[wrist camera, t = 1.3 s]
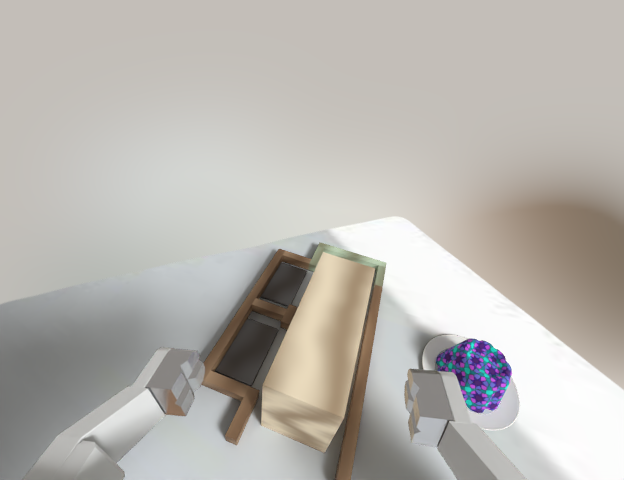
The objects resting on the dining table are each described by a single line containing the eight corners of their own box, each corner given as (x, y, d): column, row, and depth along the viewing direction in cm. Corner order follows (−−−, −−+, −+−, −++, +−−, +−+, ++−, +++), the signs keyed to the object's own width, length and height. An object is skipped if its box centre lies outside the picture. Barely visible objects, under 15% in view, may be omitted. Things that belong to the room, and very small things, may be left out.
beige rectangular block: (261, 425, 29) (262, 384, 23) (313, 299, 43) (323, 252, 37) (324, 453, 28) (343, 418, 22) (357, 314, 42) (375, 268, 35)
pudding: (436, 322, 43) (451, 301, 39) (521, 375, 38) (547, 355, 34) (405, 383, 35) (421, 363, 32) (507, 459, 30) (539, 445, 27)
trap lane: (174, 416, 29) (171, 411, 28) (288, 239, 53) (289, 232, 52) (345, 494, 26) (348, 491, 25) (383, 268, 50) (386, 262, 49)
